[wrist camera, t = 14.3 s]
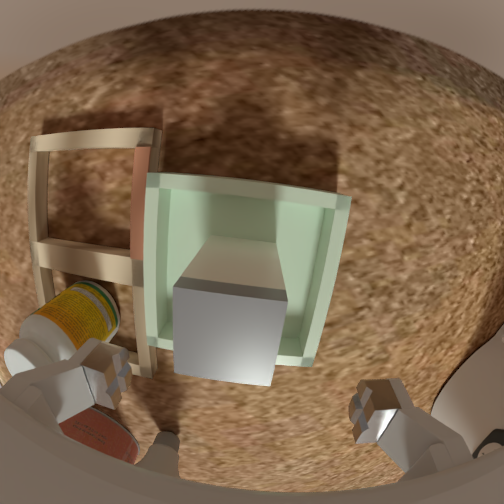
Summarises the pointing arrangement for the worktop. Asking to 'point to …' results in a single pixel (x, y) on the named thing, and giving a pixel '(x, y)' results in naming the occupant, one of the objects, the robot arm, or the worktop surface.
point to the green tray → (245, 227)
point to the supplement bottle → (63, 327)
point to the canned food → (101, 434)
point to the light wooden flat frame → (90, 255)
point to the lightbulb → (162, 455)
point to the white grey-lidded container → (230, 312)
